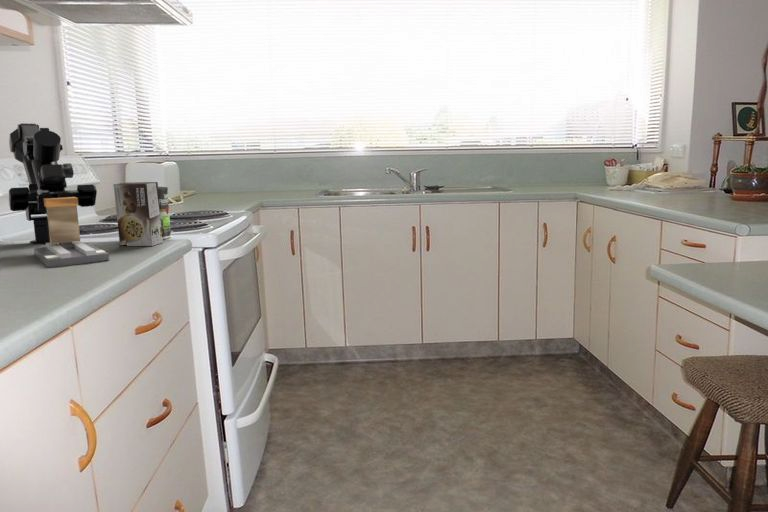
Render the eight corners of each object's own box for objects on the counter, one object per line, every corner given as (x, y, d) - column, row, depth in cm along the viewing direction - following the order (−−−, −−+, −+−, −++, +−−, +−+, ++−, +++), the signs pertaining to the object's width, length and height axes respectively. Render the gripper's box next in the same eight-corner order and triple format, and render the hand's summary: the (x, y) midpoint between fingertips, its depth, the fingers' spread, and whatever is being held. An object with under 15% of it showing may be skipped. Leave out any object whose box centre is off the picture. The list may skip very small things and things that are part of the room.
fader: (48, 247, 141) (43, 198, 139) (79, 244, 145) (74, 197, 143) (51, 249, 138) (45, 199, 136) (82, 246, 142) (77, 197, 140)
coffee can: (176, 235, 172) (173, 186, 170) (163, 240, 162) (159, 188, 159) (141, 235, 172) (137, 186, 170) (125, 241, 162) (120, 189, 160)
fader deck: (34, 254, 142) (33, 244, 142) (89, 249, 149) (88, 239, 149) (48, 267, 127) (47, 255, 126) (109, 260, 134) (108, 249, 133)
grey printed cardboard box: (163, 242, 159) (159, 181, 156) (152, 246, 153) (147, 183, 150) (131, 242, 160) (125, 181, 157) (118, 246, 154) (112, 183, 151)
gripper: (4, 153, 139) (15, 203, 132) (91, 152, 150) (106, 198, 143) (4, 185, 147) (15, 235, 140) (87, 182, 158) (101, 227, 151)
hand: (60, 223), depth 143 cm, fingers closed
